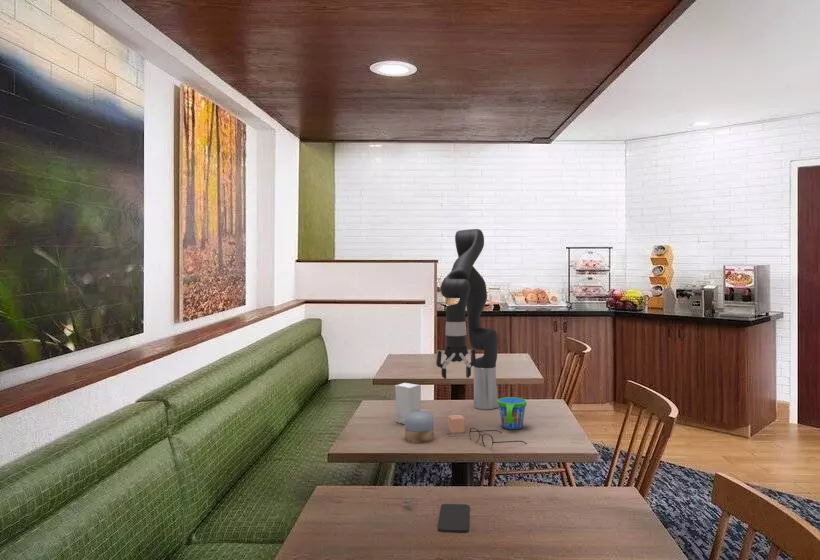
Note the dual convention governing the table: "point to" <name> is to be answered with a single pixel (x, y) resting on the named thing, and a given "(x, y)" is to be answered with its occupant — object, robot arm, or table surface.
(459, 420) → the terracotta cube
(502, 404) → the snack cup
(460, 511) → the phone
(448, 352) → the robot arm
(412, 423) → the slate top puck
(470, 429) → the glasses
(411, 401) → the skincare box
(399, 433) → the table surface
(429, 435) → the disc
